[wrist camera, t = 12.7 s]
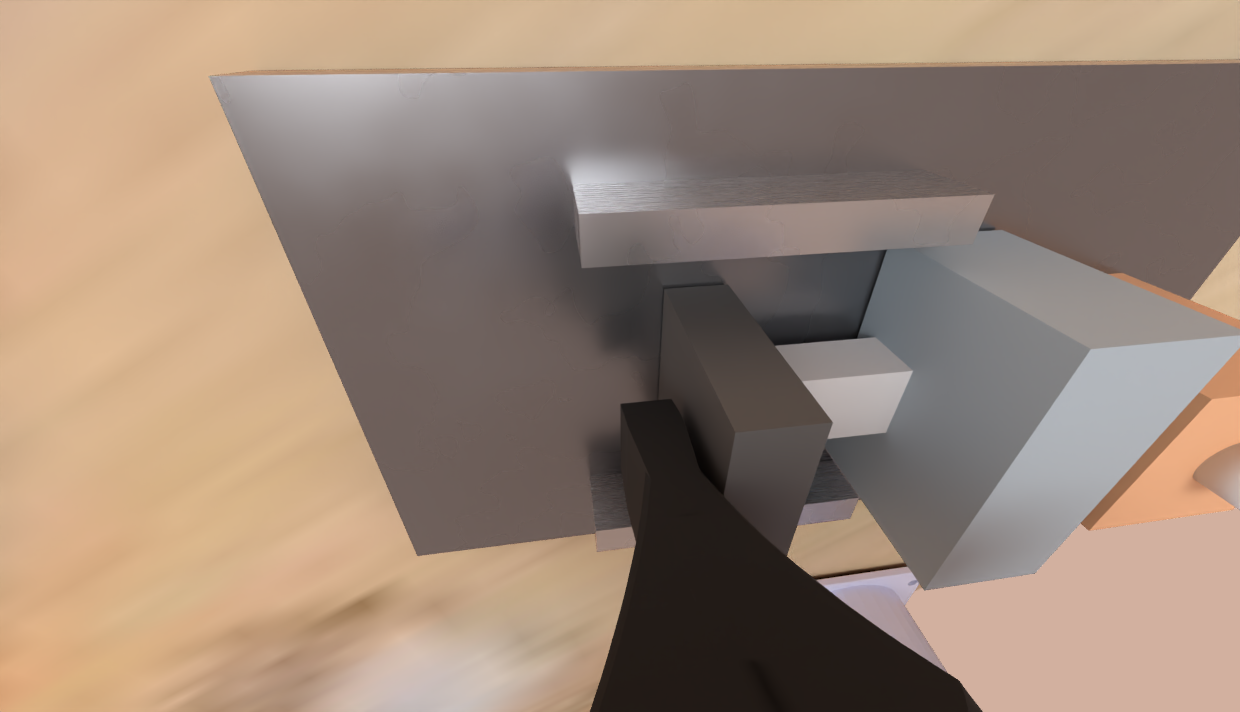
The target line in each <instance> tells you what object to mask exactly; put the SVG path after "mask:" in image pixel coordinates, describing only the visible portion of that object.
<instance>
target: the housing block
mask: <svg viewBox="0 0 1240 712" xmlns="http://www.w3.org/2000/svg"><path fill="white" fill-rule="evenodd" d="M1109 275H1111V276H1114V277H1116V278H1118V279H1121V280H1123V281H1126V282H1128V283H1130V284H1133V285H1135V286H1138V287H1140V288H1142V289H1145V290H1147V291H1150V292H1152V293H1154V294H1157V295H1159V296H1162V297H1164V298H1166V299H1169V300H1171V301H1174V302H1176V303H1178V304H1181V305H1183V306H1185V307H1188V308H1190V309H1193V310H1195V311H1197V312H1200V313H1202V314H1205V315H1207V316H1209V317H1212V318H1214V319H1217V320H1219V321H1221V322H1224V323H1226V324H1229V325H1231V326H1233V327H1236V328H1238V329H1240V320H1237V319H1235V318H1232V317H1230V316H1227V315H1225V314H1223V313H1220V312H1218V311H1215V310H1213V309H1210V308H1208V307H1205V306H1203V305H1200V304H1198V303H1195V302H1193V301H1190V300H1188V299H1185V298H1183V297H1181V296H1178V295H1176V294H1173V293H1171V292H1168V291H1166V290H1163V289H1161V288H1158V287H1156V286H1153V285H1151V284H1148V283H1146V282H1144V281H1141V280H1139V279H1136V278H1134V277H1131V276H1129V275H1126V274H1124V273H1115V274H1109ZM1235 507H1236V508H1237V509H1239V510H1240V348H1239V349H1238V350H1237V351H1236V352H1235V354H1234V355H1233V356H1232V357H1231V358H1230V359H1229V360H1228V361H1227V362H1226V363H1225V365H1224V366H1223V367H1222V368H1221V369H1220V370H1219V371H1218V372H1217V373H1216V374H1215V376H1214V377H1213V378H1212V379H1211V380H1210V381H1209V382H1208V383H1207V384H1206V385H1205V387H1204V388H1203V389H1202V390H1201V391H1200V392H1199V393H1198V394H1197V395H1196V396H1195V398H1194V399H1193V400H1192V401H1191V402H1190V403H1189V404H1188V405H1187V406H1186V408H1185V409H1184V410H1183V411H1182V412H1181V413H1180V414H1179V415H1178V416H1177V417H1176V419H1175V420H1174V421H1173V422H1172V423H1171V424H1170V425H1169V426H1168V427H1167V428H1166V430H1165V431H1164V432H1163V433H1162V434H1161V435H1160V436H1159V437H1158V438H1157V439H1156V441H1155V442H1154V443H1153V444H1152V445H1151V446H1150V447H1149V448H1148V449H1147V450H1146V452H1145V453H1144V454H1143V455H1142V456H1141V457H1140V458H1139V459H1138V460H1137V461H1136V463H1135V464H1134V465H1133V466H1132V467H1131V468H1130V469H1129V470H1128V471H1127V472H1126V474H1125V475H1124V476H1123V477H1122V478H1121V479H1120V480H1119V481H1118V482H1117V483H1116V485H1115V486H1114V487H1113V488H1112V489H1111V490H1110V491H1109V492H1108V493H1107V494H1106V496H1105V497H1104V498H1103V499H1102V500H1101V501H1100V502H1099V503H1098V504H1097V505H1096V507H1095V508H1094V509H1093V510H1092V511H1091V512H1090V513H1089V514H1088V515H1087V517H1086V518H1085V519H1084V520H1083V521H1082V522H1081V524H1082V525H1083V526H1084V527H1085V528H1086V529H1088V530H1089V531H1090V530H1097V529H1104V528H1111V527H1118V526H1124V525H1131V524H1138V523H1145V522H1152V521H1159V520H1166V519H1173V518H1180V517H1186V516H1193V515H1200V514H1206V513H1214V512H1221V511H1227V510H1233V509H1234V508H1235Z"/></svg>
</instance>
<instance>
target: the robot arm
mask: <svg viewBox="0 0 1240 712" xmlns="http://www.w3.org/2000/svg"><path fill="white" fill-rule="evenodd" d="M620 423H621V472H622V479H623V485H624V492H625V498H626V504H627V510H628V514H629V518H630V522H631V525H632V529H633V533H634V537H635V541H636V545H635V550H634V555H633V560H632V564H631V569H630V573H629V578H628V582H627V587H626V591H625V595H624V599H623V603H622V607H621V611H620V614H619V618H618V621H617V625H616V628H615V632H614V636H613V639H612V643H611V646H610V650H609V653H608V657H607V660H606V664H605V667H604V670H603V673H602V677H601V680H600V683H599V686H598V689H597V692H596V695H595V698H594V701H593V704H592V707H591V710H590V712H982V710H981V709H980V708H979V706H978V705H977V704H976V703H975V701H974V700H973V699H972V698H971V696H970V695H969V694H968V692H967V691H966V690H965V688H964V687H963V685H962V684H961V683H960V681H959V680H958V679H956V678H954V677H953V676H951V675H950V674H948V673H947V671H946V670H945V668H944V666H943V665H942V663H941V662H940V660H939V659H938V657H937V655H936V654H935V652H934V651H933V649H932V648H931V646H930V645H929V643H928V641H927V640H926V638H925V637H924V635H923V634H922V632H921V631H920V629H919V628H918V626H917V624H916V623H915V621H914V620H913V618H912V616H911V615H910V613H909V612H908V610H907V609H906V607H905V604H906V603H907V601H908V600H909V598H910V597H911V595H912V594H913V592H914V591H915V589H916V588H917V586H918V585H919V582H918V581H917V579H916V578H915V576H914V575H913V573H912V572H911V571H910V569H909V568H908V566H907V567H900V568H894V569H887V570H880V571H873V572H866V573H859V574H853V575H846V576H839V577H832V578H825V579H819V580H815V579H814V578H813V577H811V576H810V575H809V574H808V573H806V572H805V571H804V570H803V569H801V568H800V567H799V566H798V565H796V564H795V563H794V562H793V561H791V560H790V559H789V558H788V557H787V556H786V555H785V554H783V553H782V552H781V551H780V550H779V549H778V548H777V547H775V546H774V545H773V544H772V543H771V542H770V541H769V540H768V539H766V538H765V537H764V536H763V535H762V534H761V533H760V532H759V531H758V530H757V529H756V528H755V527H754V526H753V525H752V524H750V523H749V522H748V521H747V520H746V519H745V518H744V517H743V516H742V515H741V514H740V513H739V512H738V511H737V510H736V509H735V508H734V507H733V506H732V505H731V504H730V502H729V501H728V500H727V499H726V498H725V497H724V496H723V495H722V494H721V493H720V492H719V491H718V490H717V489H716V487H715V486H714V485H713V484H712V483H711V482H710V481H709V480H708V478H707V477H706V476H705V475H704V474H703V473H702V471H701V470H700V469H699V466H698V463H697V460H696V456H695V453H694V450H693V447H692V444H691V440H690V437H689V434H688V431H687V428H686V425H685V422H684V420H683V418H682V416H681V414H680V412H679V410H678V409H677V407H676V405H675V404H674V402H673V401H672V399H663V400H653V401H643V402H633V403H623V404H620Z"/></svg>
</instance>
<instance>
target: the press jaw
mask: <svg viewBox="0 0 1240 712" xmlns="http://www.w3.org/2000/svg"><path fill="white" fill-rule="evenodd" d="M1239 348H1240V329H1238V328H1236V327H1233V326H1231V325H1229V324H1226V323H1224V322H1221V321H1219V320H1217V319H1214V318H1212V317H1209V316H1207V315H1205V314H1202V313H1200V312H1197V311H1195V310H1193V309H1190V308H1188V307H1185V306H1183V305H1181V304H1178V303H1176V302H1174V301H1171V300H1169V299H1166V298H1164V297H1162V296H1159V295H1157V294H1154V293H1152V292H1150V291H1147V290H1145V289H1142V288H1140V287H1138V286H1135V285H1133V284H1130V283H1128V282H1126V281H1123V280H1121V279H1118V278H1116V277H1114V276H1111V275H1109V274H1106V273H1104V272H1102V271H1099V270H1097V269H1094V268H1092V267H1090V266H1087V265H1085V264H1082V263H1080V262H1078V261H1075V260H1073V259H1070V258H1068V257H1066V256H1063V255H1061V254H1058V253H1056V252H1054V251H1051V250H1049V249H1046V248H1044V247H1042V246H1039V245H1037V244H1034V243H1032V242H1030V241H1027V240H1025V239H1023V238H1020V237H1018V236H1015V235H1013V234H1011V233H1008V232H1006V231H1003V230H993V231H978V233H977V235H976V237H975V240H974V242H973V244H969V245H953V246H937V247H920V248H904V249H887V252H886V254H885V257H884V260H883V263H882V266H881V269H880V272H879V275H878V278H877V281H876V284H875V287H874V290H873V293H872V296H871V299H870V301H869V304H868V307H867V310H866V313H865V316H864V319H863V322H862V325H861V328H860V331H859V334H858V337H857V339H850V340H838V341H826V342H814V343H802V344H790V345H778V346H775V345H774V344H773V343H772V341H771V340H770V339H769V338H768V336H767V335H766V334H765V332H764V331H763V330H762V328H761V327H760V326H759V324H758V323H757V322H756V320H755V319H754V318H753V317H752V315H751V314H750V313H749V311H748V310H747V309H746V307H745V306H744V305H743V303H742V302H741V301H740V299H739V298H738V297H737V295H736V294H735V293H734V292H733V290H732V289H731V288H730V286H729V285H728V284H727V285H712V286H697V287H682V288H668V289H664V304H663V322H662V340H661V357H660V375H659V393H658V400H663V399H672V401H673V402H674V404H675V405H676V407H677V409H678V410H679V412H680V414H681V416H682V418H683V420H684V422H685V425H686V428H687V431H688V434H689V437H690V440H691V444H692V447H693V450H694V453H695V456H696V460H697V463H698V466H699V469H700V470H701V471H702V473H703V474H704V475H705V476H706V477H707V478H708V480H709V481H710V482H711V483H712V484H713V485H714V486H715V487H716V489H717V490H718V491H719V492H720V493H721V494H722V495H723V496H724V497H725V498H726V499H727V500H728V501H729V502H730V504H731V505H732V506H733V507H734V508H735V509H736V510H737V511H738V512H739V513H740V514H741V515H742V516H743V517H744V518H745V519H746V520H747V521H748V522H749V523H750V524H752V525H753V526H754V527H755V528H756V529H757V530H758V531H759V532H760V533H761V534H762V535H763V536H764V537H765V538H766V539H768V540H769V541H770V542H771V543H772V544H773V545H774V546H775V547H777V548H778V549H779V550H780V551H781V552H782V553H783V554H785V555H786V556H787V553H788V551H789V548H790V545H791V542H792V539H793V536H794V533H795V530H796V528H797V525H798V522H799V519H800V516H801V513H802V510H803V507H804V505H805V502H806V499H807V496H808V493H809V490H810V487H811V484H812V482H813V479H814V476H815V473H816V470H817V467H818V464H819V461H820V459H821V456H822V453H823V450H824V447H825V448H826V450H827V451H828V453H829V454H830V455H831V457H832V458H833V460H834V461H835V463H836V464H837V465H838V467H839V468H840V470H841V471H842V473H843V474H844V476H845V477H846V478H847V480H848V481H849V483H850V484H851V486H852V487H853V489H854V490H855V491H856V493H857V494H858V496H859V497H860V499H861V500H862V501H863V503H864V504H865V506H866V507H867V509H868V510H869V512H870V513H871V514H872V516H873V517H874V519H875V520H876V522H877V523H878V524H879V526H880V527H881V529H882V530H883V532H884V533H885V535H886V536H887V537H888V539H889V540H890V542H891V543H892V545H893V546H894V548H895V549H896V550H897V552H898V553H899V555H900V556H901V558H902V559H903V560H904V562H905V563H906V565H907V566H908V568H909V569H910V571H911V572H912V573H913V575H914V576H915V578H916V579H917V581H918V582H919V584H920V585H921V586H922V588H923V589H924V590H931V589H937V588H944V587H950V586H957V585H962V584H969V583H976V582H982V581H989V580H995V579H1002V578H1008V577H1015V576H1022V575H1028V574H1035V573H1036V572H1037V570H1038V569H1039V568H1040V567H1041V566H1042V565H1043V564H1044V563H1045V562H1046V560H1047V559H1048V558H1049V557H1050V556H1051V555H1052V554H1053V553H1054V552H1055V551H1056V550H1057V548H1058V547H1059V546H1060V545H1061V544H1062V543H1063V542H1064V541H1065V540H1066V539H1067V537H1068V536H1069V535H1070V534H1071V533H1072V532H1073V531H1074V530H1075V528H1077V526H1078V525H1079V524H1080V523H1081V522H1082V521H1083V520H1084V519H1085V518H1086V517H1087V515H1088V514H1089V513H1090V512H1091V511H1092V510H1093V509H1094V508H1095V507H1096V505H1097V504H1098V503H1099V502H1100V501H1101V500H1102V499H1103V498H1104V497H1105V496H1106V494H1107V493H1108V492H1109V491H1110V490H1111V489H1112V488H1113V487H1114V486H1115V485H1116V483H1117V482H1118V481H1119V480H1120V479H1121V478H1122V477H1123V476H1124V475H1125V474H1126V472H1127V471H1128V470H1129V469H1130V468H1131V467H1132V466H1133V465H1134V464H1135V463H1136V461H1137V460H1138V459H1139V458H1140V457H1141V456H1142V455H1143V454H1144V453H1145V452H1146V450H1147V449H1148V448H1149V447H1150V446H1151V445H1152V444H1153V443H1154V442H1155V441H1156V439H1157V438H1158V437H1159V436H1160V435H1161V434H1162V433H1163V432H1164V431H1165V430H1166V428H1167V427H1168V426H1169V425H1170V424H1171V423H1172V422H1173V421H1174V420H1175V419H1176V417H1177V416H1178V415H1179V414H1180V413H1181V412H1182V411H1183V410H1184V409H1185V408H1186V406H1187V405H1188V404H1189V403H1190V402H1191V401H1192V400H1193V399H1194V398H1195V396H1196V395H1197V394H1198V393H1199V392H1200V391H1201V390H1202V389H1203V388H1204V387H1205V385H1206V384H1207V383H1208V382H1209V381H1210V380H1211V379H1212V378H1213V377H1214V376H1215V374H1216V373H1217V372H1218V371H1219V370H1220V369H1221V368H1222V367H1223V366H1224V365H1225V363H1226V362H1227V361H1228V360H1229V359H1230V358H1231V357H1232V356H1233V355H1234V354H1235V352H1236V351H1237V350H1238V349H1239Z"/></svg>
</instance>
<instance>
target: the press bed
mask: <svg viewBox="0 0 1240 712" xmlns="http://www.w3.org/2000/svg"><path fill="white" fill-rule="evenodd" d="M209 78H210V81H211V83H212V85H213V87H214V90H215V92H216V94H217V97H218V99H219V101H220V103H221V106H222V108H223V110H224V113H225V115H226V117H227V120H228V122H229V124H230V126H231V129H232V131H233V133H234V136H235V138H236V140H237V143H238V145H239V147H240V149H241V152H242V154H243V156H244V159H245V161H246V163H247V166H248V168H249V170H250V172H251V175H252V177H253V179H254V182H255V184H256V186H257V188H258V191H259V193H260V195H261V198H262V200H263V202H264V205H265V207H266V209H267V211H268V214H269V216H270V218H271V221H272V223H273V225H274V228H275V230H276V232H277V234H278V237H279V239H280V241H281V244H282V246H283V248H284V250H285V253H286V255H287V257H288V260H289V262H290V264H291V267H292V269H293V271H294V273H295V276H296V278H297V280H298V283H299V285H300V287H301V290H302V292H303V294H304V296H305V299H306V301H307V303H308V306H309V308H310V310H311V312H312V315H313V317H314V319H315V322H316V324H317V326H318V329H319V331H320V333H321V335H322V338H323V340H324V342H325V345H326V347H327V349H328V352H329V354H330V356H331V358H332V361H333V363H334V365H335V368H336V370H337V372H338V374H339V377H340V379H341V381H342V384H343V386H344V388H345V391H346V393H347V395H348V397H349V400H350V402H351V404H352V407H353V409H354V411H355V414H356V416H357V418H358V420H359V423H360V425H361V427H362V430H363V432H364V434H365V436H366V439H367V441H368V443H369V446H370V448H371V450H372V453H373V455H374V457H375V459H376V462H377V464H378V466H379V469H380V471H381V473H382V476H383V478H384V480H385V482H386V485H387V487H388V489H389V492H390V494H391V496H392V499H393V501H394V503H395V505H396V508H397V510H398V512H399V515H400V517H401V519H402V521H403V524H404V526H405V528H406V531H407V533H408V535H409V538H410V540H411V542H412V544H413V547H414V549H415V551H416V554H417V556H421V555H429V554H437V553H444V552H452V551H460V550H468V549H476V548H484V547H492V546H500V545H507V544H515V543H523V542H531V541H539V540H547V539H555V538H563V537H570V536H578V535H586V534H594V533H595V537H596V546H597V552H600V551H607V550H615V549H622V548H630V547H635V545H636V541H635V537H634V533H633V529H632V525H631V522H630V518H629V514H628V510H627V504H626V498H625V492H624V485H623V479H622V472H621V423H620V404H623V403H633V402H643V401H653V400H658V393H659V375H660V357H661V340H662V322H663V304H664V289H668V288H682V287H697V286H712V285H727V284H728V285H729V286H730V288H731V289H732V290H733V292H734V293H735V294H736V295H737V297H738V298H739V299H740V301H741V302H742V303H743V305H744V306H745V307H746V309H747V310H748V311H749V313H750V314H751V315H752V317H753V318H754V319H755V320H756V322H757V323H758V324H759V326H760V327H761V328H762V330H763V331H764V332H765V334H766V335H767V336H768V338H769V339H770V340H771V341H772V343H773V344H774V345H775V346H778V345H790V344H802V343H814V342H826V341H838V340H850V339H857V337H858V334H859V331H860V328H861V325H862V322H863V319H864V316H865V313H866V310H867V307H868V304H869V301H870V299H871V296H872V293H873V290H874V287H875V284H876V281H877V278H878V275H879V272H880V269H881V266H882V263H883V260H884V257H885V254H886V252H887V249H904V248H920V247H937V246H953V245H969V244H973V242H974V240H975V237H976V235H977V233H978V231H993V230H1003V231H1006V232H1008V233H1011V234H1013V235H1015V236H1018V237H1020V238H1023V239H1025V240H1027V241H1030V242H1032V243H1034V244H1037V245H1039V246H1042V247H1044V248H1046V249H1049V250H1051V251H1054V252H1056V253H1058V254H1061V255H1063V256H1066V257H1068V258H1070V259H1073V260H1075V261H1078V262H1080V263H1082V264H1085V265H1087V266H1090V267H1092V268H1094V269H1097V270H1099V271H1102V272H1104V273H1106V274H1115V273H1124V274H1126V275H1129V276H1131V277H1134V278H1136V279H1139V280H1141V281H1144V282H1146V283H1148V284H1151V285H1153V286H1156V287H1158V288H1161V289H1163V290H1166V291H1168V292H1171V293H1173V294H1176V295H1178V296H1181V297H1183V298H1185V299H1188V300H1190V299H1191V298H1192V297H1193V295H1194V294H1195V293H1196V292H1197V290H1198V289H1199V288H1200V286H1201V285H1202V284H1203V283H1204V281H1205V280H1206V279H1207V277H1208V276H1209V275H1210V274H1211V272H1212V271H1213V270H1214V269H1215V267H1216V266H1217V265H1218V263H1219V262H1220V261H1221V260H1222V258H1223V257H1224V256H1225V254H1226V253H1227V252H1228V251H1229V249H1230V248H1231V247H1232V245H1233V244H1234V243H1235V242H1236V240H1237V239H1238V238H1239V236H1240V59H1236V60H1148V61H1061V62H973V63H885V64H797V65H710V66H622V67H534V68H446V69H359V70H271V71H247V72H238V73H229V74H221V75H212V76H209ZM858 500H861V499H860V497H859V496H858V494H857V493H856V491H855V490H854V489H853V487H852V486H851V484H850V483H849V481H848V480H847V478H846V477H845V476H844V474H843V473H842V471H841V470H840V468H839V467H838V465H837V464H836V463H835V461H834V460H833V458H832V457H831V455H830V454H829V453H828V451H827V450H826V448H825V447H824V450H823V453H822V456H821V459H820V461H819V464H818V467H817V470H816V473H815V476H814V479H813V482H812V484H811V487H810V490H809V493H808V496H807V499H806V502H805V505H804V507H803V510H802V513H801V516H800V519H799V522H798V525H805V524H812V523H820V522H828V521H835V520H843V519H850V517H851V515H852V513H853V510H854V508H855V506H856V504H857V502H858Z"/></svg>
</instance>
